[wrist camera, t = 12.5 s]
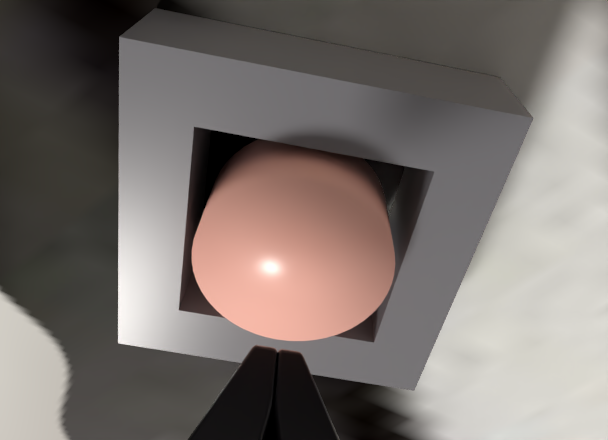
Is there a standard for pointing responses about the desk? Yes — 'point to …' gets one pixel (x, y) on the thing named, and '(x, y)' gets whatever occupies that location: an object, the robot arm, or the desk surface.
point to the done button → (294, 242)
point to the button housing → (311, 134)
